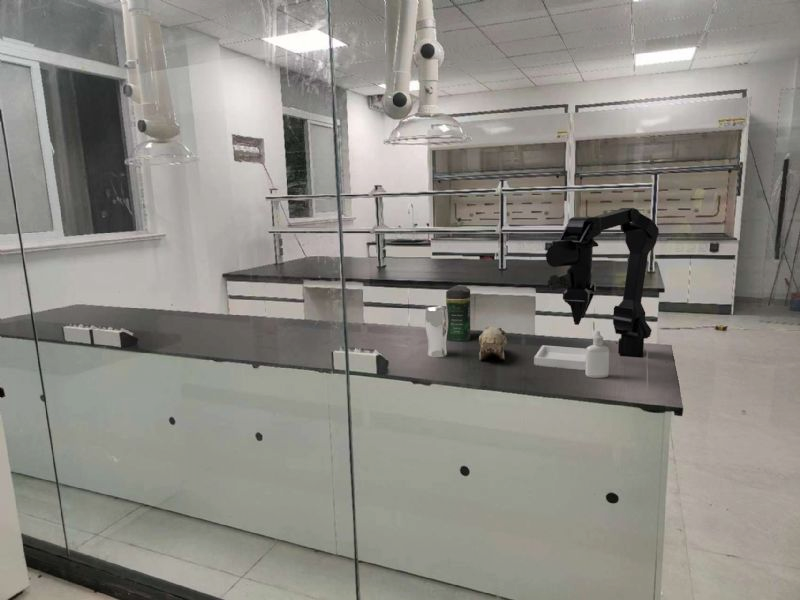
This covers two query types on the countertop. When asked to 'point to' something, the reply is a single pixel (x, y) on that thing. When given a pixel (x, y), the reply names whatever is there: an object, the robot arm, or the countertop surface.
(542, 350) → the tray
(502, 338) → the animal skull replica
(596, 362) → the eye dropper bottle
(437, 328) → the beer glass
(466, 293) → the coffee jar
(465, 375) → the countertop surface
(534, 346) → the countertop surface
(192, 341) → the countertop surface
